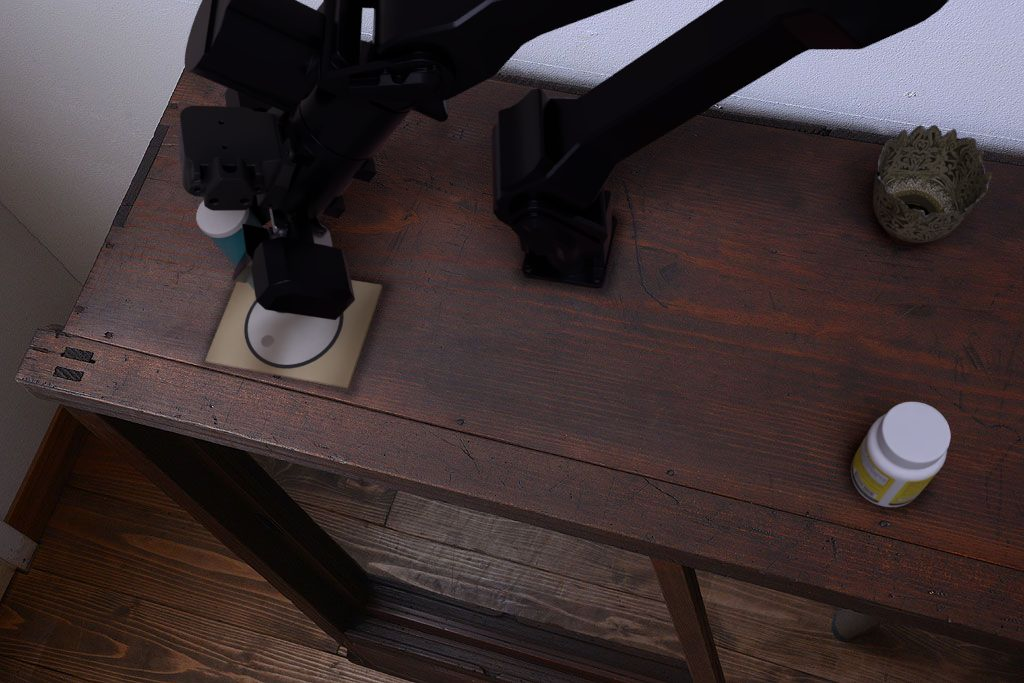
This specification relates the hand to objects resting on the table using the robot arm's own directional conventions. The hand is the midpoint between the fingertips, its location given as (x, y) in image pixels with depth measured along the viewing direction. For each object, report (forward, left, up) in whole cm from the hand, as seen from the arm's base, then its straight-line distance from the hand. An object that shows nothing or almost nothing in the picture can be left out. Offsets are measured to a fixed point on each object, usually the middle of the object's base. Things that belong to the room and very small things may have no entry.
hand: (235, 259), depth 72 cm
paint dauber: (-2, -1, -7) cm, 7 cm away
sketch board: (-3, +1, -7) cm, 8 cm away
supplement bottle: (-48, +5, -7) cm, 49 cm away
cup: (-48, -15, -7) cm, 51 cm away
